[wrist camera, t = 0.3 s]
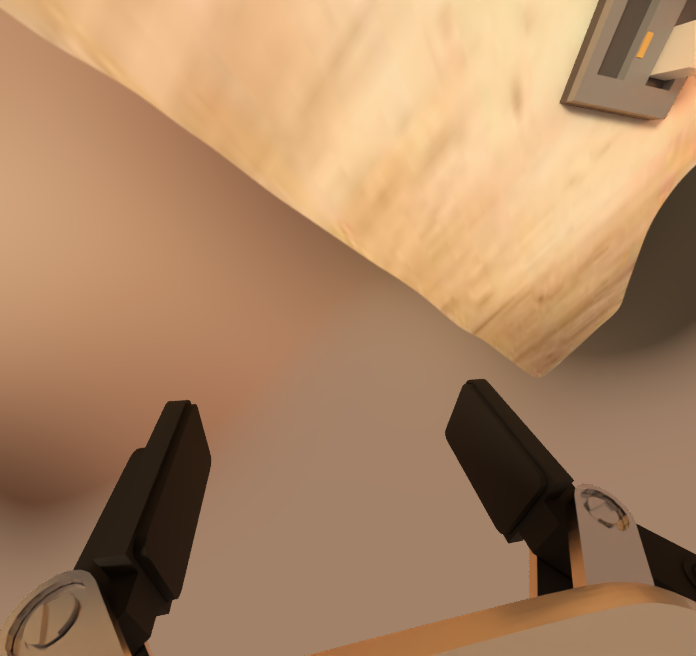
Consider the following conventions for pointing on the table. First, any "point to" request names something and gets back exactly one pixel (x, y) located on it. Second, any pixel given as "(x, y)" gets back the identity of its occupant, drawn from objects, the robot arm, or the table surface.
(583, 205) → the table surface
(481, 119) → the table surface
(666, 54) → the tab
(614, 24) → the switch board
